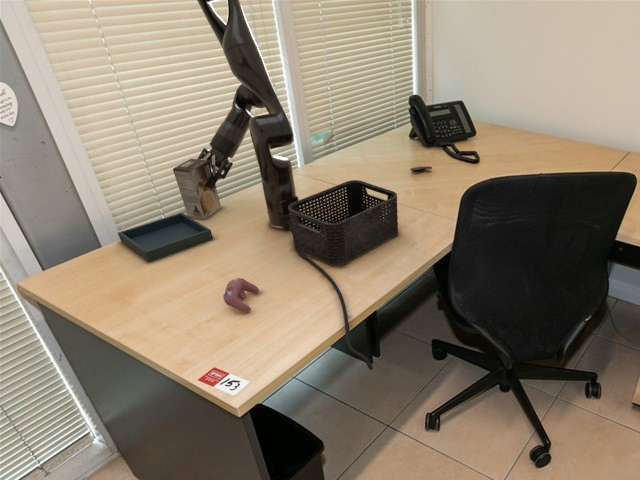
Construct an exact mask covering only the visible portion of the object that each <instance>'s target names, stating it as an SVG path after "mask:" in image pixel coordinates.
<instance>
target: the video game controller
mask: <svg viewBox="0 0 640 480" xmlns="http://www.w3.org/2000/svg"><path fill="white" fill-rule="evenodd" d="M247 292H248V293H250V294H259V293H260V288H259V287H258V286H257V285H256V284H254V283H252V282H249V281H248V280H246V279H244V278H242V277H235V278H233V279H231V280H230V281H228V283H227V285H226V287H225V291H224V293H223V296H222V298H223V301H224V303H225V304H226V305H227V306H228V307H231V308H233V309H235V310H236V311H238V312H241V313H246V314H248V313H249V314H250V312H251V311H252V309H251V307H250V306H249V304H247V303H245V302H244V301H243V300H246V299H247Z"/></svg>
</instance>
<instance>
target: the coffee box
mask: <svg viewBox="0 0 640 480" xmlns="http://www.w3.org/2000/svg"><path fill="white" fill-rule="evenodd" d="M212 171H213V170H212V168H211V167H210V164H209V161H207V160H202V159H201V160H199V159H198V158H189V159H188V160H186V161H184V162H182V163H180V164H178V165H177V166H175V167H173V168H172V172H173V174H174V177H175V181H176V183H177V187H178V190H179V194H180V197H181V199H182V202H183V206H184V209H185V213H186V215H187V216H188V217H190V218H193V219H194V218H195V219H202V220H207V218H209V217H210V216H211V215H213V214H214V213H216V212H217V211H218V210H220V209H222V204H221V201H220V196H219V193H218V189H217V186H216V184H215V186H214V187H213V189H211V188H209V187H207V186H206V183H207V181H208V180H209V178H210V176H211V175H212ZM212 176H213V175H212Z"/></svg>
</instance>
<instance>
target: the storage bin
mask: <svg viewBox="0 0 640 480" xmlns="http://www.w3.org/2000/svg"><path fill="white" fill-rule="evenodd" d="M368 190H370V191H373V192H376V193H379V194H382V195H385V196H387V199H383V198H380V197H377V196H376V195H375V196H374V195H372V194H369V193H368ZM298 200H299V201H296V202H294V203H291V204H290V205H289V206H288V209H289V213H290V214H289V215H290V219H291V220H290V222H291V226H292V227H291V228H292V232H291V234H292V239H293V247H294V250H295V249H297V250H299V251H300V252H301V253H302V254H303V255H305V256H307V257H310V258H313V259H316V260H317V261H320V262H323V263H325V264H326V265H330V266H335V267H337V266H342V265H343V266H344V265H346V264H348V263H350V262H352V261H354V260H355V259H357V258H358V257H361V256H363V255H364V254H366V253H368V252H369V251H371V250H373V249H375V248H377V247H378V246H381V245H382V244H384V243H386V242H388V241H389V240H391V239H393V238H395V237H397V236H398V235H399V222H398V220H399V216H398V193H397V192H395V191H393V190H391V189H387V188H384V187H381V186H377V185H375V184H371V183H369V182H366V181H363V180H358V179H351V180H348V181H345V182H342V183H340V184H339V183H338V184H337V185H335V186H332V187H330V188H327V189H324V190H322V191H319V192H317V193H313V194H312V195H309V196H307V197H304V198H301V199H298ZM297 210H298V211H297ZM298 217H299V218H298Z"/></svg>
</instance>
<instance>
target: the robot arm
mask: <svg viewBox="0 0 640 480" xmlns="http://www.w3.org/2000/svg"><path fill="white" fill-rule="evenodd" d="M196 1H197V3H198V5H199V7H200V9H201V12H202V13H203V15H204V17H205V19H206V21H207V23H208V24H209V27H210V29H211V30H212V32H213V34H214V36H215V37H216V39H217V40H218V43H219V44H220V47H221V49H222V52H223V54H224V56H225V59H226V61H227V65H228V67H229V69H230V71H231V73H232V75H233V76H234V78H236V80H237V81H239V82H240V83H241V84H239V85H238V87H237V88H236V90H235V93H234V97H233V100H232V103H231V108H230V110H229V111H228V113H227V115H226V117H225V118H224V120H223V121H222V122H221V124H220V125H219V127H218V128H217V129H216V132H215V134H214V135H213V137H212V138H211V140H210V142H209V146H210V147H211V148H210V150H209V149H207V148H206V147H204V148H202V150H201V152H200V154H199V155H198V156H197V159H199V160H207V161H209V164H210V167H211V171H212V175H213V176H212V175H211V176H210V178H209V180H208V181H207V183H206V186H207V187H209V188H211V189H213V187H214V186H215V185H216V184H217V183H218V181H219V180H220V179H222V180H224V179H226V177H227V176H228V174H229V172H230V170H231V169H232V166H233V165H234V163H233V162H232V161H231V160H229V158H230V159H233V158H234V157H235V155H236V153H237V151H238V150H239V148H240V146H241V145H242V142H243V141H244V139H245V137H246V134H247V133H248V131H249V134H250V138H251V142H252V146H253V149H254V155H255V159H256V163H257V166H258V170H259V174H260V175H259V176H260V179H261V180H260V181H261V186H262V189H263V196H264V201H265V205H266V211H267V216H268V219H269V220H268V223H269V226H270V227H271V228H273V229H275V230H284V231H289V230H290V232H291V233H292V228H291V227H292V226H291V222H290V220H291V219H290V215H289V214H290V213H289V209H288V206H289V205H290V204H291V203H294V202H296V201H299V200H300V199H299V196H297V192H296V184H295V177H294V171H293V164H292V162H291V160H290V159H289V158H288V157H284V156H281V155H274V154H272V152H271V150H273V149H279V148H285V147H288V146H291V145H292V144H293V143H294V141H295V140H294V138H295V136H294V130H293V127H292V125H291V122H290V120H289V117H288V116H287V113H286V110H285V109H284V107H283V105H282V103H281V101H280V99H279V97H278V95H277V92H276V90H275V88H274V85H273V83H272V81H271V78H270V75H269V73H268V70H267V68H266V65H265V62H264V60H263V57H262V54H261V51H260V49H259V46H258V44H257V42H256V40H255V37H254V35H253V33H252V30H251V27H250V26H249V23H248V20H247V18H246V15H245V12H244V10H243V6H242V3H241V1H240V0H226V3H227V17H226V22H225V21H224V20H223V19H222V18H221V17H220V15H218V13H217V12H216V11H215V9H214V7H213V5H212V3H213V2H219V1H220V0H196ZM253 107H254V108H256V109H261V110H262V109H265V110H266V111H267V113H268V114H260V115H255V116H253V115H252V114H251V112H252V110H253ZM297 211H298V210H297ZM298 218H299V217H298ZM294 250H295V252H296V254H297V255H298V256H300V258H302V259H303V260H305V261H306V262H307V263H309V264H311V266H313V267H314V268H315V269H317V270H318V271H319V272H320V273H321V274H322V275H323V276H324V277H325V278H326V279H327V280H328V282H329V283H330V284H331V285H332V286H333V289H334V290H335V291H336V293H337V296H338V298H339V301H340V305H341V309H342V314H343V320H344V328H345V330H344V331H345V334H344V335H345V343H346V346H347V348H348V350H349V352H350V353H352V354H353V355H354V356H357V357H358V358H360V359H362V360H363V361H364V362H365V364H366V365H367V368H368V370H370V371H372V370H374V366H373V364H372V363H371V361H370V359H369V358H368V357H367V356H366V355H364V354H363V353H361V352H359V351H357V350H355V348H354V347H353V346H352V344H351V340H350V325H349V324H350V323H349V317H348V311H347V306H346V302H345V299H344V297H343V294H342V292H341V291H340V288H339V286H338V285H337V283H336V282H335V281H334V279H333V278H332V277H331V276H330V275H329V274H328V273H327V272H326V270H324V269H323V268H322V267H321V266H319V264H317V263H316V262H315V261H313V260H312V259H311V258H309V256H307V255H306V254H304V253H302V252H300V251H299V250H297V249H295V248H294Z"/></svg>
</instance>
